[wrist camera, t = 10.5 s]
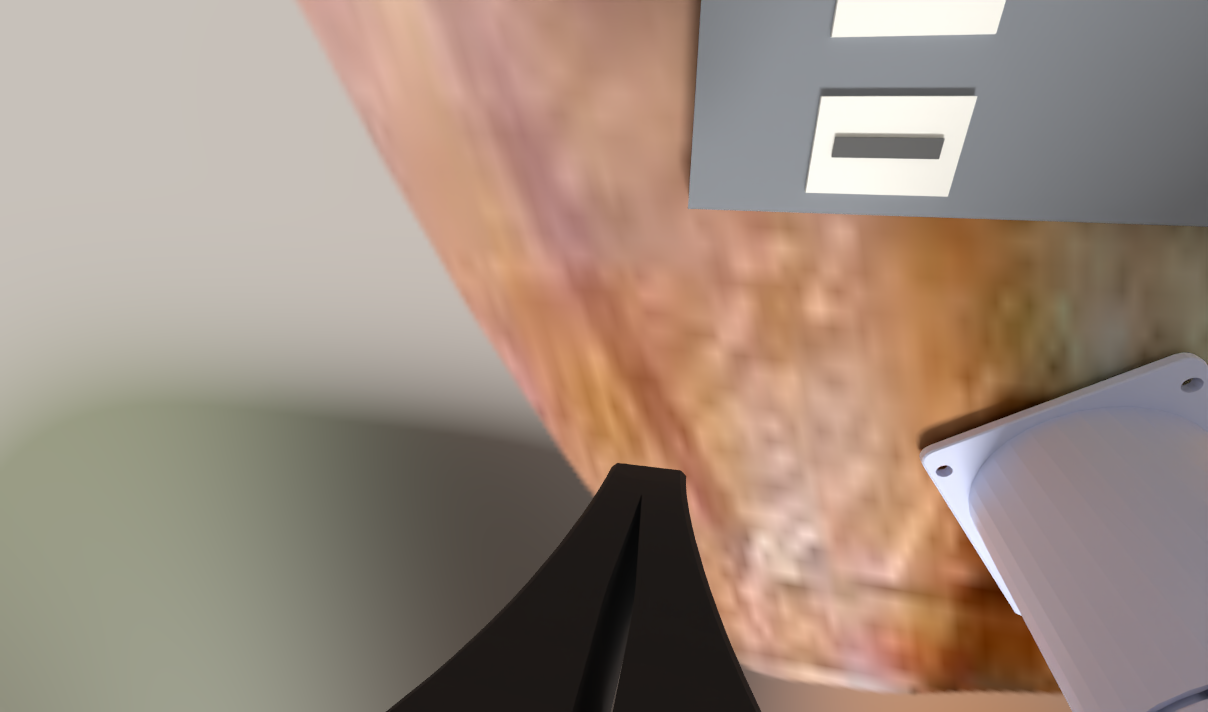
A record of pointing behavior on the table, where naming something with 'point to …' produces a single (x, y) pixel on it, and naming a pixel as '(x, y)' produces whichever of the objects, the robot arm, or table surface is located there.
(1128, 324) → the table surface
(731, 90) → the label board
